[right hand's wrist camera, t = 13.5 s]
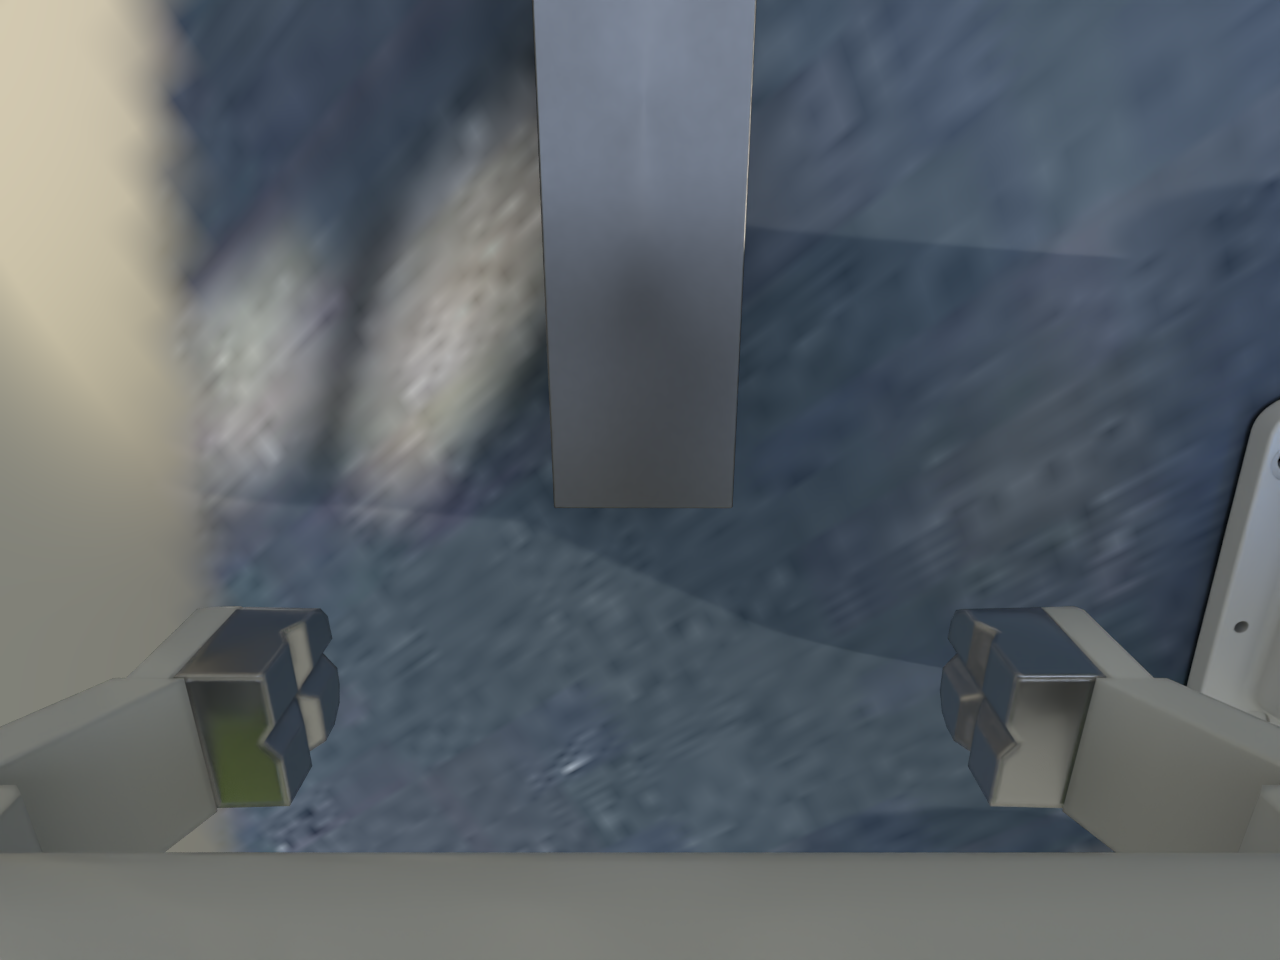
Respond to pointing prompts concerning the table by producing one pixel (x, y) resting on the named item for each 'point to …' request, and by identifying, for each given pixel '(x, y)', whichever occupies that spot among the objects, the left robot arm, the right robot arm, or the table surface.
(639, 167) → the bar
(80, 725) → the right robot arm
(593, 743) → the table surface
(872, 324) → the table surface
